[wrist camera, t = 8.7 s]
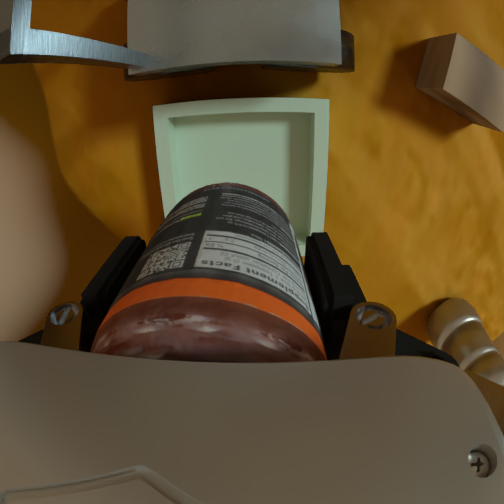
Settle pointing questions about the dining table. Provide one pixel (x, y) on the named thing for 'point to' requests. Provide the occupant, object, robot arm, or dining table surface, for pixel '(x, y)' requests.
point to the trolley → (193, 38)
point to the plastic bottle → (465, 339)
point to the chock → (463, 80)
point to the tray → (248, 152)
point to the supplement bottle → (217, 287)
